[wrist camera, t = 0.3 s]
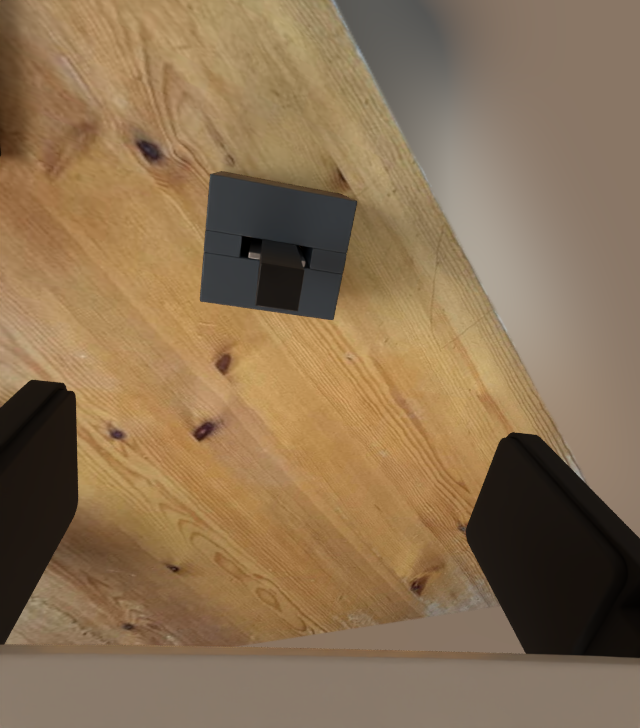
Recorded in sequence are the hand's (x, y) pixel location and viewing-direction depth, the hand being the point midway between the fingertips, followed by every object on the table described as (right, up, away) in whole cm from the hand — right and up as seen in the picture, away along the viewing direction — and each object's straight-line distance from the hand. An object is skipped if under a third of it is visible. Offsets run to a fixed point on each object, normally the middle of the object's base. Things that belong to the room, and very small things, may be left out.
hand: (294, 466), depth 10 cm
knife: (-3, +11, +22) cm, 24 cm away
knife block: (-3, +11, +22) cm, 24 cm away
